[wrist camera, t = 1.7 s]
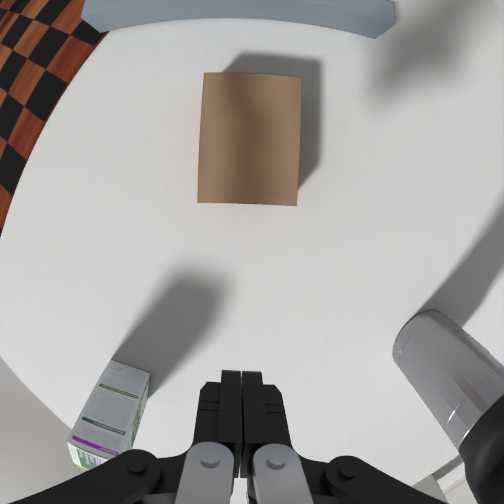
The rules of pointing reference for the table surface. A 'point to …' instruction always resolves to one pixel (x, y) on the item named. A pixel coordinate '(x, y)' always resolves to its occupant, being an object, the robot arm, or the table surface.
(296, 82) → the block
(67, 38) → the chessboard
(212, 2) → the board
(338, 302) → the table surface
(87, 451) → the syrup box
